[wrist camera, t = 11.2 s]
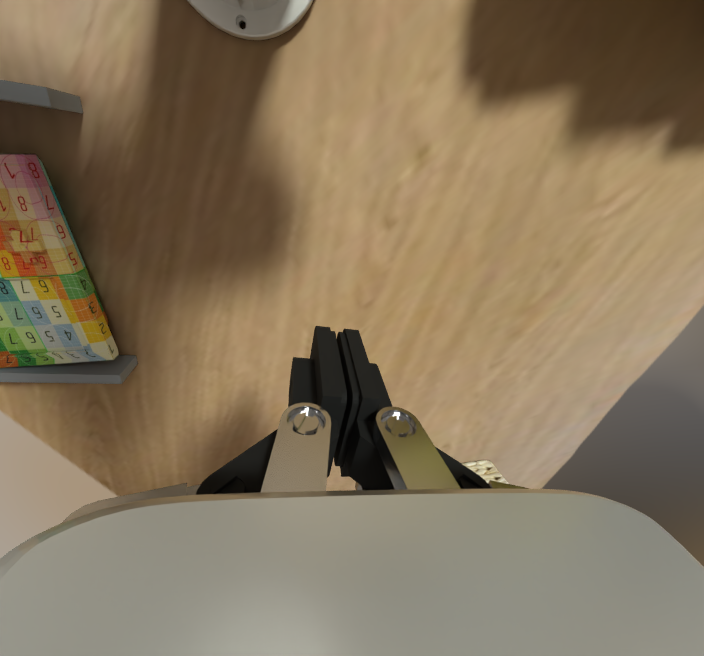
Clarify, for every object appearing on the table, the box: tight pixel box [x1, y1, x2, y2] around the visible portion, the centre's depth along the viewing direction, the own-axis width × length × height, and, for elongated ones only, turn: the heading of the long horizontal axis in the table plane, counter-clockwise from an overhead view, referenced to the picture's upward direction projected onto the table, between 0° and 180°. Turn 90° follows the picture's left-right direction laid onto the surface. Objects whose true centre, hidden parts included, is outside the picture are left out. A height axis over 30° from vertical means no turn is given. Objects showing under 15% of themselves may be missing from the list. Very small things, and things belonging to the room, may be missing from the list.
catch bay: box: [0, 80, 138, 384], centre depth 30 cm, size 27×16×4 cm, turn 172°
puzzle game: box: [0, 154, 119, 368], centre depth 30 cm, size 12×5×20 cm
